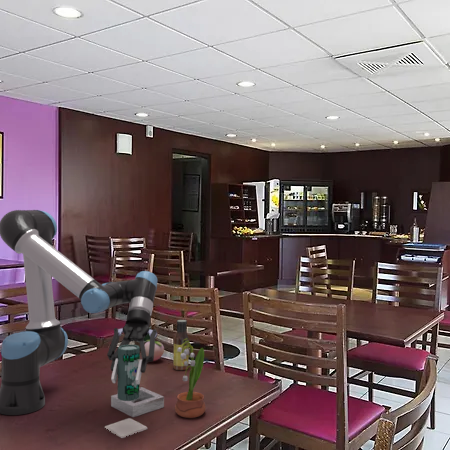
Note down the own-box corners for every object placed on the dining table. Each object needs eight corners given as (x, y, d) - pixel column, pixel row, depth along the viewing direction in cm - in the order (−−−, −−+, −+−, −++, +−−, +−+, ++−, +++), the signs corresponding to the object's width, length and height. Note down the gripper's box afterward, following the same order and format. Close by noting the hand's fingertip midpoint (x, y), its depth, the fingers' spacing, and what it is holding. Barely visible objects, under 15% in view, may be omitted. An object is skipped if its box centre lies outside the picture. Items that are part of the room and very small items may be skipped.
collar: (133, 417, 161) (133, 406, 161) (111, 406, 170) (111, 395, 169) (163, 407, 170) (164, 396, 170) (141, 396, 178) (141, 387, 178)
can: (131, 402, 148) (132, 351, 148) (114, 399, 151) (114, 348, 150) (142, 395, 154) (143, 345, 154) (125, 392, 156) (125, 343, 156)
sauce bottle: (185, 371, 207) (186, 323, 206) (171, 370, 208) (172, 322, 208) (190, 366, 213) (191, 319, 213) (175, 365, 215) (176, 318, 214)
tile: (121, 438, 146) (121, 436, 146) (104, 428, 153) (104, 426, 153) (147, 429, 153) (147, 427, 153) (129, 419, 159) (129, 417, 159)
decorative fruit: (138, 362, 217) (138, 339, 217) (148, 357, 225) (149, 335, 224) (156, 366, 213) (157, 342, 213) (167, 360, 221) (167, 338, 220)
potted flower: (190, 425, 156) (191, 344, 155) (164, 417, 162) (165, 339, 161) (211, 412, 166) (213, 336, 166) (186, 405, 172) (188, 331, 171)
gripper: (170, 321, 166) (160, 388, 150) (112, 319, 168) (95, 386, 152) (167, 308, 161) (156, 376, 145) (107, 306, 162) (89, 374, 147)
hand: (125, 381), depth 149 cm, fingers closed on can, 6 cm apart
